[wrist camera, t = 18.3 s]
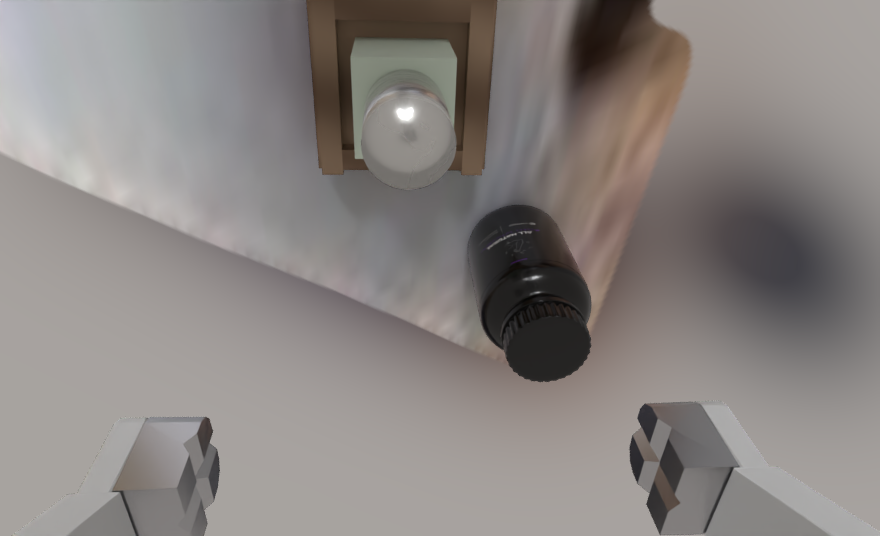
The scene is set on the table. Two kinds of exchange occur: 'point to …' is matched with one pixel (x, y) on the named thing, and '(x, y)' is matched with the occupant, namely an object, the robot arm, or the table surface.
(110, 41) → the table surface
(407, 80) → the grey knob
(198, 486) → the robot arm
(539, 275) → the supplement bottle
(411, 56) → the sage cube
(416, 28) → the walnut base
